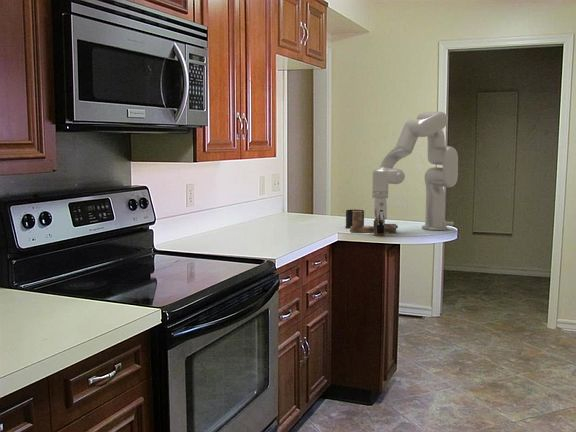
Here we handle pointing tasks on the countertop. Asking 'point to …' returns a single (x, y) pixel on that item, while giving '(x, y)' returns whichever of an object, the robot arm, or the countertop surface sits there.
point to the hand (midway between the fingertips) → (379, 231)
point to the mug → (351, 217)
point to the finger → (376, 228)
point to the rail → (359, 228)
